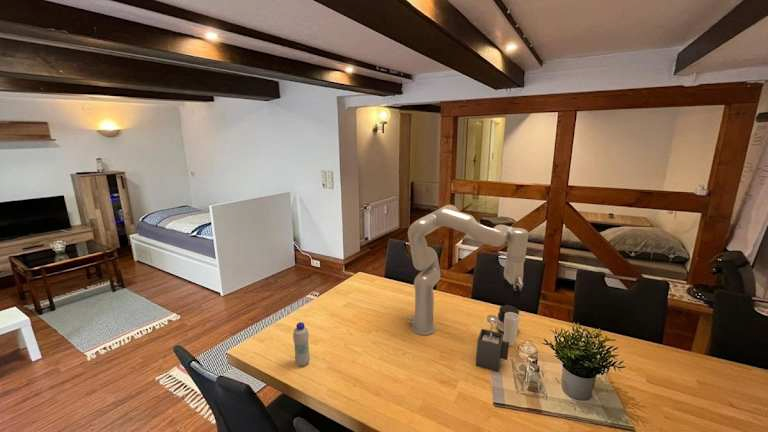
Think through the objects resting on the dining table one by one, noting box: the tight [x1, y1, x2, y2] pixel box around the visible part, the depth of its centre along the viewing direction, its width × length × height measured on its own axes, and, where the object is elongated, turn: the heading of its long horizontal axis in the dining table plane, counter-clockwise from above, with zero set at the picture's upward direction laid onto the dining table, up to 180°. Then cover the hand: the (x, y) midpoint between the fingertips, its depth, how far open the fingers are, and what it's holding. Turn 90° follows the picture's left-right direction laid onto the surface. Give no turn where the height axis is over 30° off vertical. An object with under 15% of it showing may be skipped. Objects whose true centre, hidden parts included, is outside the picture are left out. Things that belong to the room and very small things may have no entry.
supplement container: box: [496, 304, 521, 334], centre depth 173 cm, size 10×10×12 cm
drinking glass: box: [503, 312, 520, 347], centre depth 162 cm, size 7×7×15 cm
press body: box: [475, 328, 510, 373], centre depth 148 cm, size 12×10×13 cm
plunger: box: [482, 314, 500, 344], centre depth 146 cm, size 7×7×12 cm
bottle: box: [292, 322, 311, 367], centre depth 147 cm, size 7×7×20 cm
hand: (511, 292), depth 148 cm, fingers open, 9 cm apart
